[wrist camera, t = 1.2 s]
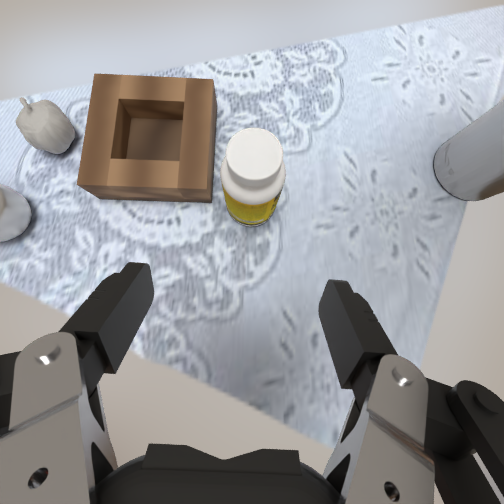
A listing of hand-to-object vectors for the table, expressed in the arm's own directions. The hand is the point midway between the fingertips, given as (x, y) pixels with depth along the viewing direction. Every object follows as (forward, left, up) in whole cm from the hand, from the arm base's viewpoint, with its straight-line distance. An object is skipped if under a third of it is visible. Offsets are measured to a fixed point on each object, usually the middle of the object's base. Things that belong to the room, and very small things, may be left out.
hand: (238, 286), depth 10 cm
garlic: (+24, -19, -17) cm, 35 cm away
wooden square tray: (+11, -18, -17) cm, 27 cm away
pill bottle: (-1, -11, -17) cm, 20 cm away
